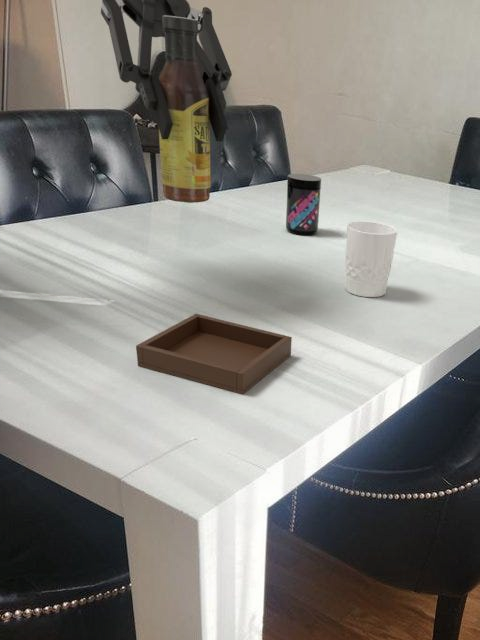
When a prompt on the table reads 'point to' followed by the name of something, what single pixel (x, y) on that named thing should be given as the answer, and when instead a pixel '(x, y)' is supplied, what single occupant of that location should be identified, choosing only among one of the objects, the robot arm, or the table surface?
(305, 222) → the supplement container
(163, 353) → the tray
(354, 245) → the white cup
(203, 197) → the sauce bottle
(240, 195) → the table surface
